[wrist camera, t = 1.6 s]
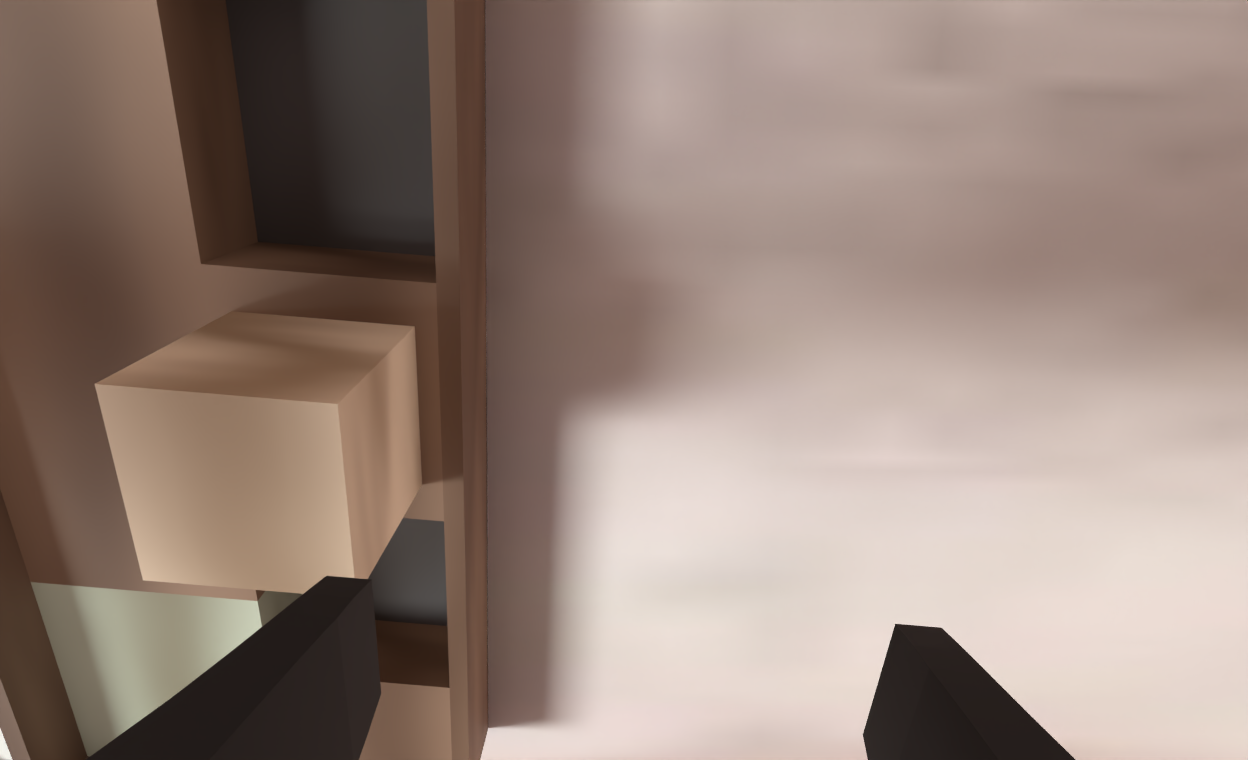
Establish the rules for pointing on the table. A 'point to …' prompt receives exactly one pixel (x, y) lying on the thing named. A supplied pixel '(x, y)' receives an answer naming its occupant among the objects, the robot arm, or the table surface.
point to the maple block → (267, 450)
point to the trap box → (213, 286)
